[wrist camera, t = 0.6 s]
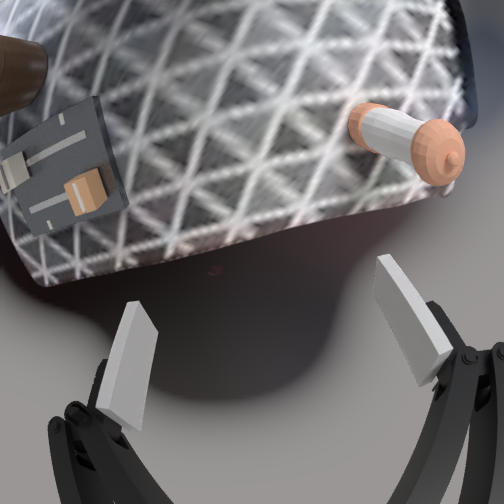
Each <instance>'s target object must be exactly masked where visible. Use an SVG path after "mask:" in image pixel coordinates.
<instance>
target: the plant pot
mask: <svg viewBox="0 0 504 504" xmlns="http://www.w3.org/2000/svg"><path fill="white" fill-rule="evenodd" d="M46 72H47V54H46V51H45V49H44V48H43V47H42V46H41V45H40V44H38V43H36V42H31V41H27V40H22V39H18V38H13V37H7V36H2V35H0V117H1V116H3V115H6V114H8V113H11V112H14V111H16V110H19V109H22V108H24V107H26V106H27V105H29V104H30V103H31V102H32V101H33V100H34V99H35V97H36V96H37V93H38V91H39V89H40V88H41V87H42V85H43V83H44V80H45V77H46Z"/></svg>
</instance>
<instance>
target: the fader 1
mask: <svg viewBox="0 0 504 504" xmlns="http://www.w3.org/2000/svg"><path fill="white" fill-rule="evenodd" d="M29 178H30V176H29V174H28V170H27V167H26V164H25V161H24V158H23V154H22V151H21V152H19V153H17V154H15V155H13V156H11V157H9V158H7V159H5V160H4V161H3V162H1V163H0V186H1V189H2V191H3V194H5V193H7V192H8V191H10V190H12V189H13V188H15V187H17V186H18V185H20V184H21V183H23V182H24V181H26V180H27V179H29Z"/></svg>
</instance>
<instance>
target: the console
mask: <svg viewBox="0 0 504 504" xmlns="http://www.w3.org/2000/svg"><path fill="white" fill-rule="evenodd" d="M1 151H2V155H3V159H4V160H5V159H7V158H9V157H11V156H13V155H15V154H17V153H19V152H21V151H22V154H23V158H24V161H25V164H26V167H27V170H28V174H29V176H30V178H29V179H27V180H26V181H24V182H23V183H21V184H20V185H18V186H17V187H15V188H13V189H14V192H15V195H16V198H17V200H18V203H19V205H20V208H21V210H22V213H23V215H24V217H25V220H26V222H27V224H28V226H29V228H30V231H31V233H32V235H33V237H35V236H38V235H41V234H44V233H47V232H50V231H53V230H56V229H59V228H62V227H65V226H68V225H71V224H74V223H78V222H81V221H84V220H88V219H91V218H94V217H98V216H101V215H105V214H108V213H112V212H116V211H119V210H123V209H125V208H126V207H127V206H128V205H129V201H128V198H127V195H126V193H125V190H124V187H123V183H122V180H121V177H120V174H119V171H118V168H117V164H116V161H115V158H114V154H113V151H112V147H111V144H110V140H109V137H108V133H107V129H106V125H105V121H104V117H103V113H102V109H101V104H100V100H99V95H97V96H91V97H89V98H87V99H85V100H83V101H81V102H79V103H77V104H75V105H73V106H71V107H69V108H67V109H65V110H63V111H62V112H60V113H58V114H56V115H54V116H53V117H51V118H49V119H47V120H46V121H44V122H42V123H41V124H39V125H38V126H36V127H34V128H33V129H31V130H30V131H28V132H27V133H25V134H24V135H22V136H21V137H19V138H18V139H16V140H15V141H14V142H12V143H11V144H9V145H8V146H7V147H5V148H4V149H3V150H1ZM95 168H97V169H98V172H99V175H100V178H101V181H102V184H103V187H104V190H105V193H106V195H107V198H108V199H107V200H106V201H105V202H104V203H103V204H102V205H101V206H100V207H99V208H98V209H97V210H95V211H91V212H88V213H85V214H82V215H79V216H75V214H74V211H73V209H72V206H71V204H70V201H69V199H68V196H67V193H66V191H65V188H64V184H66V183H67V182H68V181H70V180H71V179H73V178H74V177H76V176H77V175H80V174H82V173H85V172H87V171H90V170H93V169H95Z"/></svg>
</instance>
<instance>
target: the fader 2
mask: <svg viewBox="0 0 504 504" xmlns="http://www.w3.org/2000/svg"><path fill="white" fill-rule="evenodd" d="M64 188H65V191H66V193H67V196H68V199H69V201H70V204H71V206H72V209H73V211H74V214H75V216H79V215H82V214H85V213H88V212H91V211H95V210H97V209H98V208H99V207H100V206H101V205H102V204H103V203H104V202H105V201H106V200H107V199H108V198H107V195H106V193H105V190H104V187H103V184H102V181H101V178H100V175H99V172H98V169H97V168H95V169H93V170H90V171H87V172H85V173H82V174H80V175H77V176H76V177H74V178H73V179H71V180H70V181H68V182H67V183H66V184H64Z"/></svg>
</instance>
